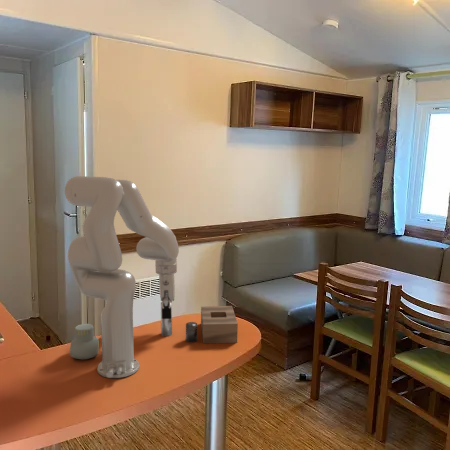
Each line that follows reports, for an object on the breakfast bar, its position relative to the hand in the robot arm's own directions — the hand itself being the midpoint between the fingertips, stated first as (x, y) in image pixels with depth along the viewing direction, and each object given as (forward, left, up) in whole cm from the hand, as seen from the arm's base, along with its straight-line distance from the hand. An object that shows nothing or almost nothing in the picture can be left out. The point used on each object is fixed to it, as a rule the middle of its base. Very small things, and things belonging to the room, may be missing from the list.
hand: (167, 313), depth 171 cm
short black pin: (-6, -9, -8) cm, 13 cm away
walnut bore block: (0, -19, -8) cm, 20 cm away
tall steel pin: (0, 0, -8) cm, 8 cm away
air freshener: (-16, +26, -8) cm, 32 cm away
